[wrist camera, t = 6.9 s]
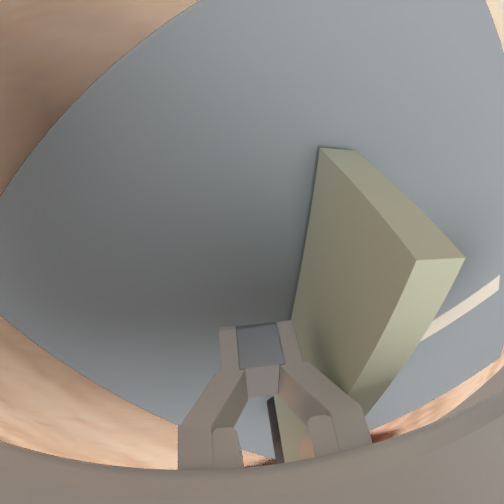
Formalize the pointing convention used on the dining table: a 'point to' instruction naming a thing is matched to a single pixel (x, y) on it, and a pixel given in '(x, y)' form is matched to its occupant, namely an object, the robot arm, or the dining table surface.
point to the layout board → (255, 191)
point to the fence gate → (364, 283)
